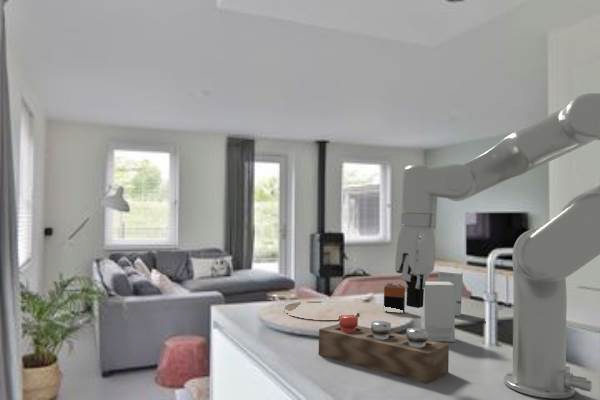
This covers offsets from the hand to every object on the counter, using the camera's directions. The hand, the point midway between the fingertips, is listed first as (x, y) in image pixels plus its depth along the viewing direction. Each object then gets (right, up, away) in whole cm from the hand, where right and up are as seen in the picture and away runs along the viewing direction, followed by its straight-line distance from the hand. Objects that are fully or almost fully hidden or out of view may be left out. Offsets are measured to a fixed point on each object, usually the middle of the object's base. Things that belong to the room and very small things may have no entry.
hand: (414, 306), depth 103 cm
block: (-7, -14, +5) cm, 16 cm away
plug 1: (-6, -10, +5) cm, 13 cm away
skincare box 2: (+27, -17, +63) cm, 71 cm away
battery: (+8, -17, +64) cm, 66 cm away
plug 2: (0, -10, -1) cm, 10 cm away
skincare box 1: (+13, -16, +28) cm, 35 cm away
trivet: (-18, -16, +60) cm, 64 cm away
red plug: (-13, -10, +11) cm, 20 cm away
